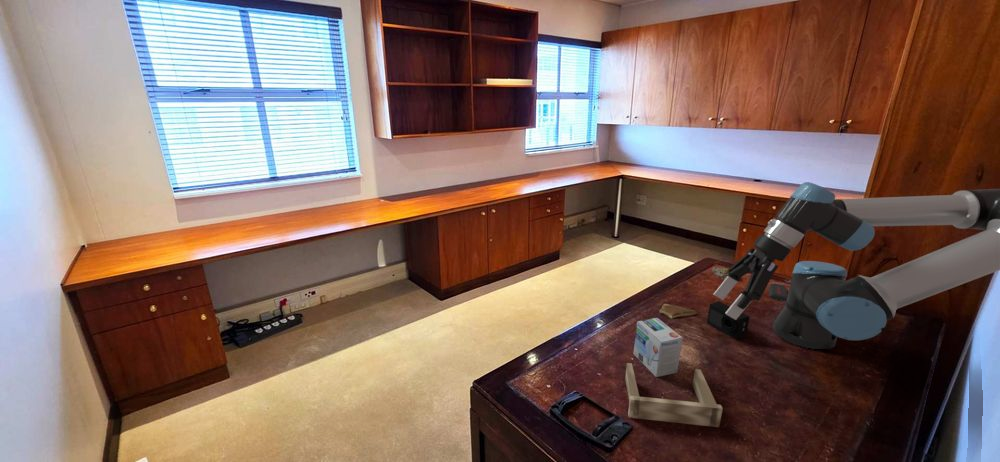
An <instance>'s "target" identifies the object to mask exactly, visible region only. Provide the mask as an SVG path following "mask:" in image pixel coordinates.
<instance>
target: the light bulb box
mask: <svg viewBox="0 0 1000 462" xmlns="http://www.w3.org/2000/svg"><path fill="white" fill-rule="evenodd" d="M635 330H636V331H635V339H634V348H633V355H634V357H636V358H637V359H638V360H639V361H640V363H642V365H644V366H645V368H646V369H647V370H648V371H650V373H652V375H654V377H655V378H659V377H663V376H667V375H668V376H669V375H673V374H677V373H678V371H679V363H680V357H681V351H682V346H683V345H682V344H683V336H681V335H680V334H679V333H677V332H676V331H675V330H674V329H672V328H671V327H670V326H669V325H667V324H666V323H664V322H663V321H662V320H661V319H659V318H658V317H654V318H653V317H652V318H650V319H644V320H638V321H637V322H636V329H635Z"/></svg>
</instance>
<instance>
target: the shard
mask: <svg viewBox="0 0 1000 462" xmlns="http://www.w3.org/2000/svg"><path fill="white" fill-rule="evenodd" d="M659 313H660V314H662V315H665V316H667V317H668V318H670V319H674V318H680V317H687V316H688V317H689V316H690V317H691V316H694V315H697V314H698V313H699V310H693V309H689V308H686V307H681V306H678V305H673V304H669V303H663V304H662V307H661V308H660V309H659Z"/></svg>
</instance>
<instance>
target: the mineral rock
mask: <svg viewBox="0 0 1000 462" xmlns="http://www.w3.org/2000/svg"><path fill="white" fill-rule="evenodd" d="M728 269H729V268H725V267H717V266H713V268H712V269H711V272H712V274H713V275H716V276H717V277H718V278H719V279H721V280H725V279H726V278H727V276H728V273H729V272H728Z"/></svg>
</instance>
